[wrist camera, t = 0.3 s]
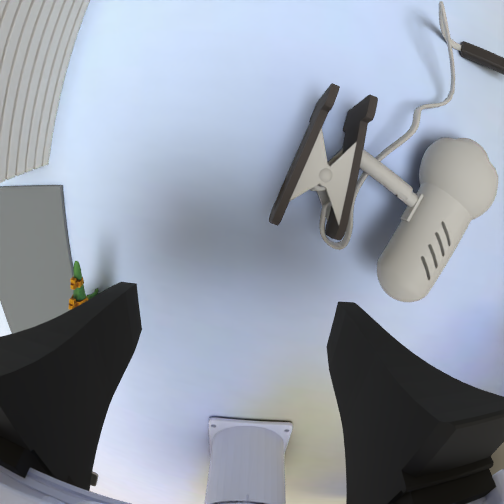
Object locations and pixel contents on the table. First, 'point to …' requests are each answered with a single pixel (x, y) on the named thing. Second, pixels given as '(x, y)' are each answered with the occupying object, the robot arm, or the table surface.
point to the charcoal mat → (34, 255)
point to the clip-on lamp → (398, 186)
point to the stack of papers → (33, 77)
